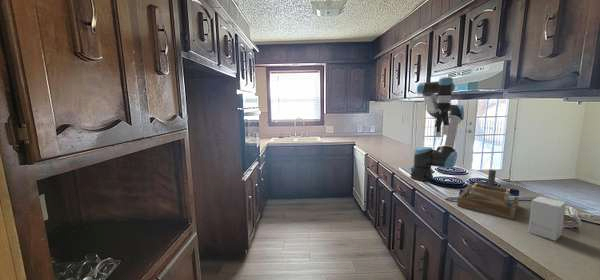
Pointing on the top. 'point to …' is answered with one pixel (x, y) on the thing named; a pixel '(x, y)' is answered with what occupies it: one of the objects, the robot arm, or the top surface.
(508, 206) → the bay
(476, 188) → the crate
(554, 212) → the supplement box
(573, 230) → the top surface
